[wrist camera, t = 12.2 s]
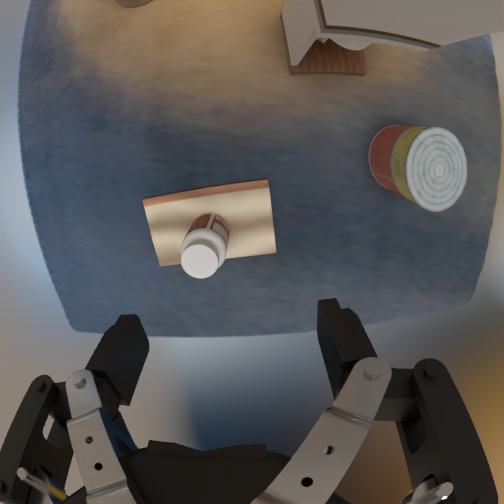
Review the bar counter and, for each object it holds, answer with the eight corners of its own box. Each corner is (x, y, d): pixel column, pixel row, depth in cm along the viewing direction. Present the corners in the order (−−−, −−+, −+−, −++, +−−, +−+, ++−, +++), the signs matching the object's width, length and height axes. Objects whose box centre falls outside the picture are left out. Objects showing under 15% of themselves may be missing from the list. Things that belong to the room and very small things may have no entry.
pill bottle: (189, 244, 44) (172, 278, 34) (194, 208, 42) (176, 234, 32) (226, 251, 45) (220, 288, 35) (233, 215, 42) (228, 244, 32)
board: (143, 198, 41) (142, 199, 41) (267, 178, 40) (268, 179, 40) (161, 264, 46) (159, 266, 46) (275, 251, 45) (276, 252, 45)
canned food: (432, 150, 37) (477, 161, 27) (404, 202, 42) (443, 226, 31) (387, 111, 35) (428, 109, 24) (356, 168, 40) (391, 182, 29)
